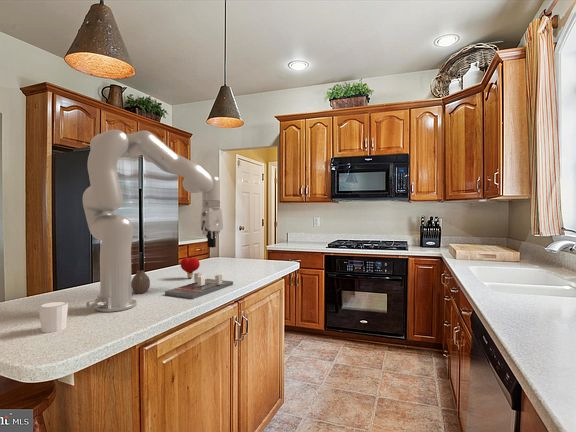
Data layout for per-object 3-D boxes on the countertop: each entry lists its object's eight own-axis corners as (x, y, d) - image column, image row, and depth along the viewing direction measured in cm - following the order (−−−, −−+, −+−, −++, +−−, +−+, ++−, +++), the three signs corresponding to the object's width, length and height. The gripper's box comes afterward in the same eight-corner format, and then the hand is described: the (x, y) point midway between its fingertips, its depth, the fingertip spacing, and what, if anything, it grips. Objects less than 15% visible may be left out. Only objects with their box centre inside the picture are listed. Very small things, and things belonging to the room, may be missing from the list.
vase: (150, 293, 133) (149, 271, 133) (130, 295, 131) (130, 273, 131) (150, 289, 140) (150, 268, 140) (131, 291, 137) (131, 270, 137)
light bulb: (202, 277, 166) (201, 256, 166) (196, 280, 159) (196, 259, 159) (183, 276, 167) (183, 256, 167) (177, 279, 160) (177, 258, 160)
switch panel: (193, 299, 125) (192, 284, 125) (164, 295, 131) (164, 280, 131) (233, 284, 149) (233, 272, 148) (207, 282, 155) (207, 269, 154)
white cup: (73, 324, 97) (73, 300, 97) (58, 333, 91) (58, 307, 90) (49, 324, 97) (49, 300, 97) (32, 333, 90) (32, 307, 90)
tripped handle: (201, 285, 138) (201, 276, 138) (197, 285, 139) (197, 276, 139) (204, 284, 140) (204, 275, 140) (201, 284, 141) (201, 275, 141)
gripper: (207, 204, 137) (207, 249, 137) (228, 205, 151) (228, 245, 151) (192, 204, 140) (193, 248, 141) (214, 205, 154) (215, 245, 154)
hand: (211, 247), depth 146 cm, fingers closed
